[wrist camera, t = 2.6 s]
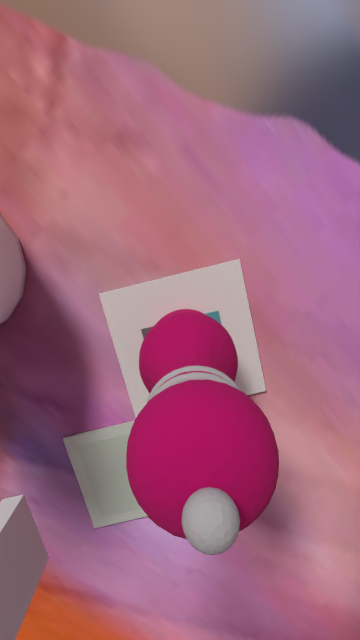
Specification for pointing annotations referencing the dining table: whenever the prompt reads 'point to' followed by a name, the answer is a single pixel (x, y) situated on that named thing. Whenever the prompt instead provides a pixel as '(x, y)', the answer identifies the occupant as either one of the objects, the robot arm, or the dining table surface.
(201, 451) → the pepper mill
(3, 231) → the vase
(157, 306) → the tile
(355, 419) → the dining table surface
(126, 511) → the coaster
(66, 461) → the dining table surface
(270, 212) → the dining table surface
